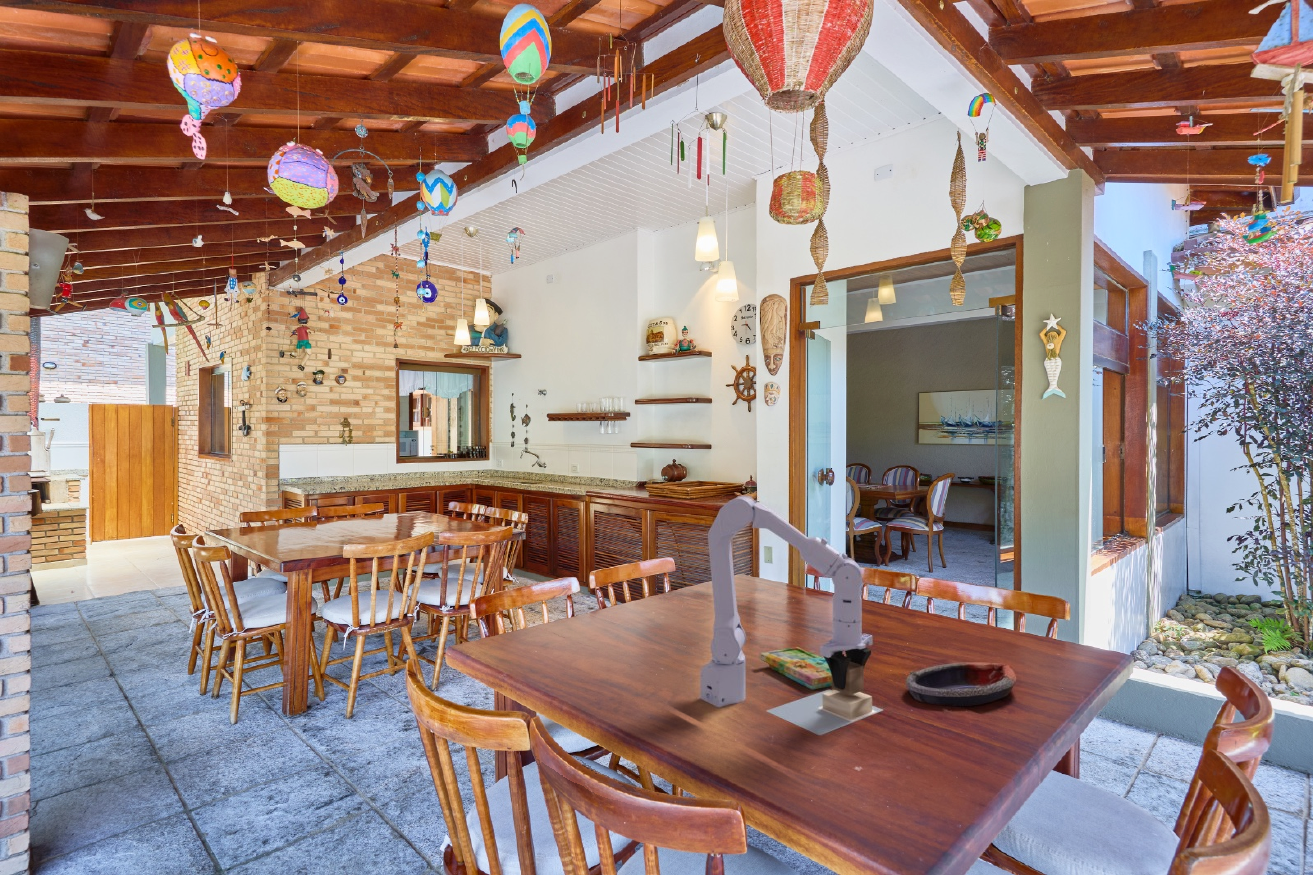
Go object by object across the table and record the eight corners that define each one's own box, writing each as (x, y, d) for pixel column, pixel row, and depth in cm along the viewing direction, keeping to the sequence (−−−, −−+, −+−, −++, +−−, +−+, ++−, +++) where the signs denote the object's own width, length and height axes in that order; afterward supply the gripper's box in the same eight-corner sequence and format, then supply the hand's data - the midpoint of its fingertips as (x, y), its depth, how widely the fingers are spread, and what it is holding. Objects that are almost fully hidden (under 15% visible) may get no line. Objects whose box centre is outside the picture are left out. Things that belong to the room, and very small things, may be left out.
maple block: (850, 719, 130) (850, 704, 130) (822, 708, 135) (822, 693, 135) (872, 711, 134) (872, 696, 134) (844, 700, 139) (843, 686, 140)
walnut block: (849, 695, 131) (849, 670, 132) (831, 688, 135) (831, 664, 135) (863, 690, 134) (863, 665, 134) (845, 683, 138) (845, 660, 138)
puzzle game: (811, 675, 145) (759, 649, 163) (811, 696, 145) (759, 668, 163) (852, 667, 150) (797, 643, 168) (852, 688, 150) (797, 661, 168)
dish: (885, 693, 146) (885, 670, 147) (983, 674, 159) (983, 653, 159) (940, 719, 132) (940, 695, 132) (1044, 696, 145) (1044, 674, 145)
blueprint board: (819, 739, 123) (819, 735, 123) (765, 714, 134) (765, 710, 134) (883, 713, 135) (883, 709, 135) (828, 693, 146) (828, 689, 146)
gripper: (840, 629, 127) (840, 699, 127) (885, 617, 136) (885, 683, 136) (812, 621, 133) (812, 688, 133) (856, 610, 142) (856, 673, 141)
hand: (847, 685), depth 135 cm, fingers closed on walnut block, 4 cm apart
